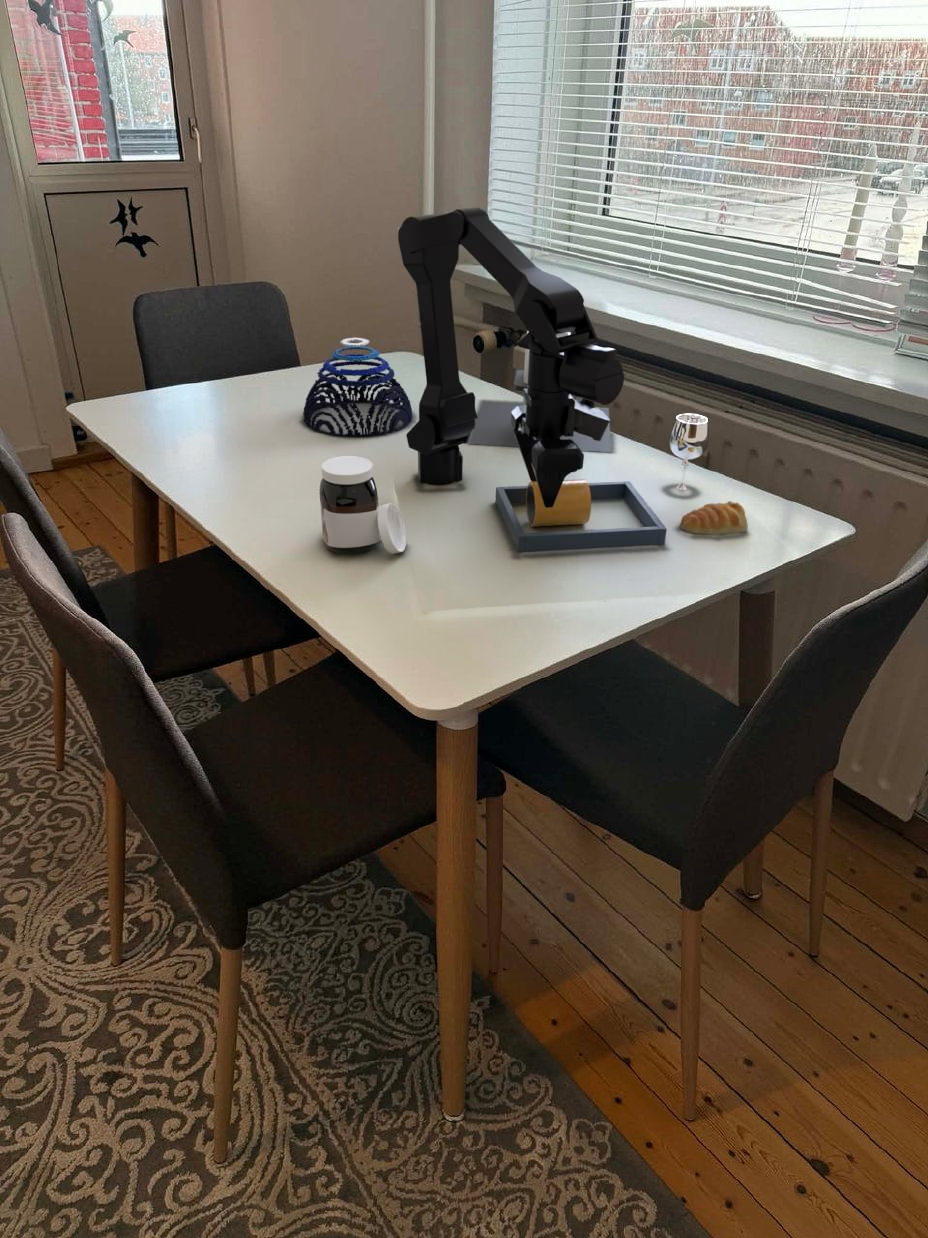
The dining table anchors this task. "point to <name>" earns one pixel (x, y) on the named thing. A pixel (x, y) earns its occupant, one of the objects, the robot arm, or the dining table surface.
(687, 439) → the wineglass
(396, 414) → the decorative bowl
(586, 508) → the tapered yellow cylinder
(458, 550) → the dining table surface
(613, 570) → the dining table surface
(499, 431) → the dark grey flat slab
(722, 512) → the pastry
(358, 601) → the dining table surface
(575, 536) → the blue tray
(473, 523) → the dining table surface
